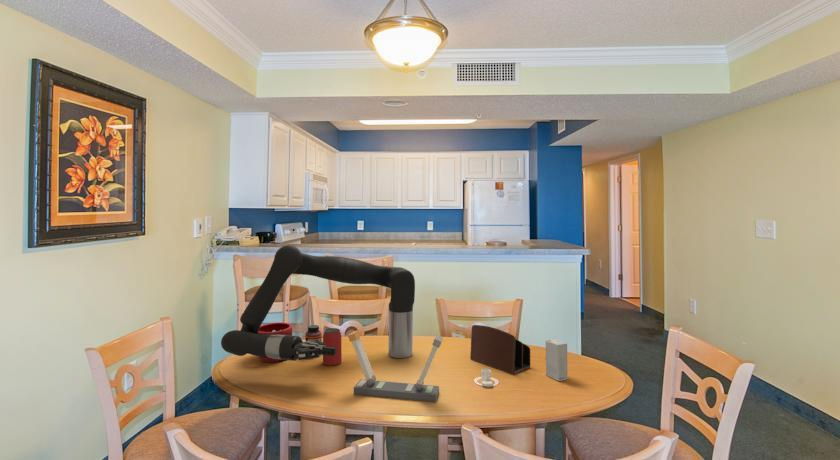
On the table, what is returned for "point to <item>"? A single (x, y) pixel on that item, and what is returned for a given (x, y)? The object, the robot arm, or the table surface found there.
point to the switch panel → (397, 390)
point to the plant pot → (279, 329)
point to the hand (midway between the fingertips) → (335, 351)
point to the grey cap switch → (429, 362)
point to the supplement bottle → (313, 333)
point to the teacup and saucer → (486, 379)
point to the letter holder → (499, 350)
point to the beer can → (332, 340)
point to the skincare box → (556, 359)
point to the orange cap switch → (362, 357)
